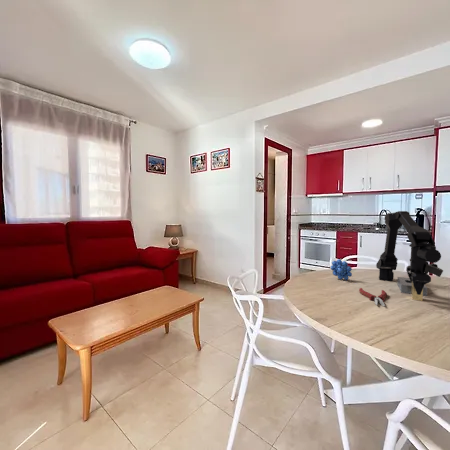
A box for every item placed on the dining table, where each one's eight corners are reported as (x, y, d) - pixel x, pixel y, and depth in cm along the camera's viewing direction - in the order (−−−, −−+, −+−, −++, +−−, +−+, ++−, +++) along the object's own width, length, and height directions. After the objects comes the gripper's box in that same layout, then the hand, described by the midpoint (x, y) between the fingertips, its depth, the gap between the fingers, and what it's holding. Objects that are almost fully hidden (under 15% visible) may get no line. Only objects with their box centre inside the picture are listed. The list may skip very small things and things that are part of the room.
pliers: (365, 306, 104) (365, 300, 104) (358, 291, 123) (358, 286, 123) (397, 310, 100) (397, 304, 100) (384, 294, 119) (385, 289, 118)
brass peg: (412, 299, 111) (413, 282, 110) (411, 297, 114) (411, 280, 113) (422, 300, 109) (423, 283, 108) (420, 298, 112) (421, 281, 112)
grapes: (328, 279, 142) (329, 259, 141) (331, 277, 148) (331, 257, 147) (350, 283, 136) (351, 261, 135) (352, 280, 141) (352, 259, 140)
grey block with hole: (401, 292, 120) (401, 284, 120) (397, 283, 134) (397, 276, 134) (426, 296, 115) (427, 287, 115) (420, 286, 129) (420, 279, 129)
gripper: (448, 264, 98) (445, 301, 99) (436, 256, 114) (434, 288, 115) (413, 261, 104) (411, 296, 105) (406, 254, 120) (405, 284, 121)
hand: (416, 291), depth 111 cm, fingers open, 9 cm apart
